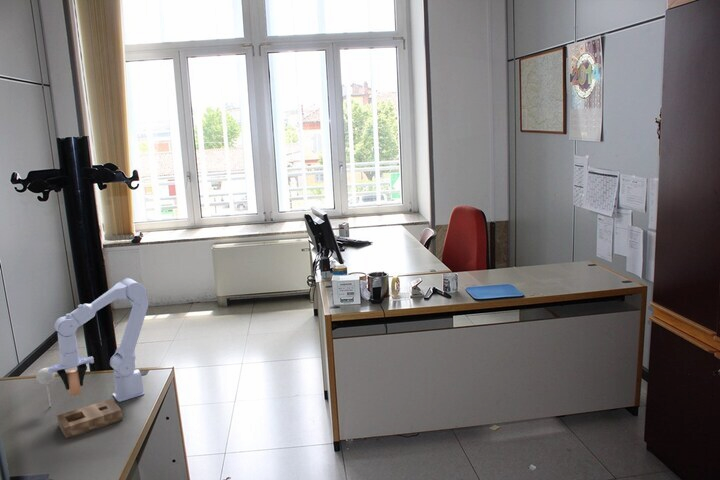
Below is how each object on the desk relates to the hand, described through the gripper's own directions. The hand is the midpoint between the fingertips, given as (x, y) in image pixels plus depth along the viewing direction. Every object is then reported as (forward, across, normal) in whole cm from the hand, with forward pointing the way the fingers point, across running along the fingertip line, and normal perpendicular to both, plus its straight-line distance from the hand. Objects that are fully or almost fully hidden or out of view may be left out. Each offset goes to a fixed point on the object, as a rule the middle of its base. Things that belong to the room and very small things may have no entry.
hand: (74, 386), depth 212 cm
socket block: (+9, -1, +12) cm, 16 cm away
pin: (+2, 0, 0) cm, 2 cm away
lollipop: (+10, +7, -11) cm, 16 cm away
